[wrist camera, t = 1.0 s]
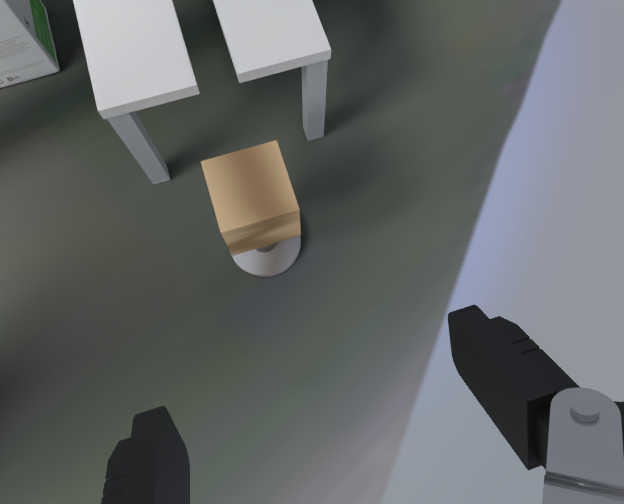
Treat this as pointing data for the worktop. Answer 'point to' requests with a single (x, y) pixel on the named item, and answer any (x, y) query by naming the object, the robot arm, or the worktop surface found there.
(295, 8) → the white slotted table
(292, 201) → the tan block with stem
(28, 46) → the skincare box
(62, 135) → the worktop surface
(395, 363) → the worktop surface
